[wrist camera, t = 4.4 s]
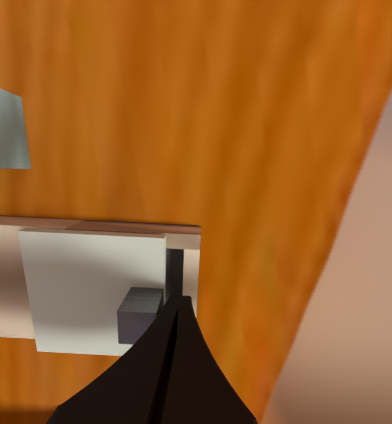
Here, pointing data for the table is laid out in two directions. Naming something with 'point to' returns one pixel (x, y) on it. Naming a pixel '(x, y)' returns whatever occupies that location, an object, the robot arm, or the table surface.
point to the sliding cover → (92, 288)
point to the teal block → (12, 133)
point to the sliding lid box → (9, 226)
